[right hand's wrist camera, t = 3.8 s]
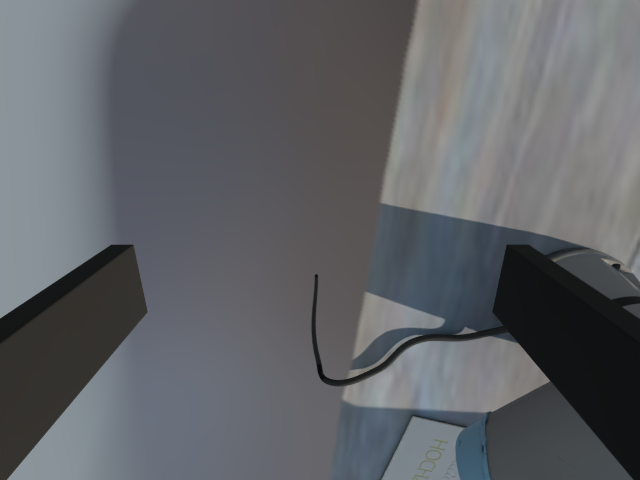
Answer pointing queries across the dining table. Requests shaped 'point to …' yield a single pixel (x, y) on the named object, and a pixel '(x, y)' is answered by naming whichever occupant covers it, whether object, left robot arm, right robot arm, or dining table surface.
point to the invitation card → (425, 452)
